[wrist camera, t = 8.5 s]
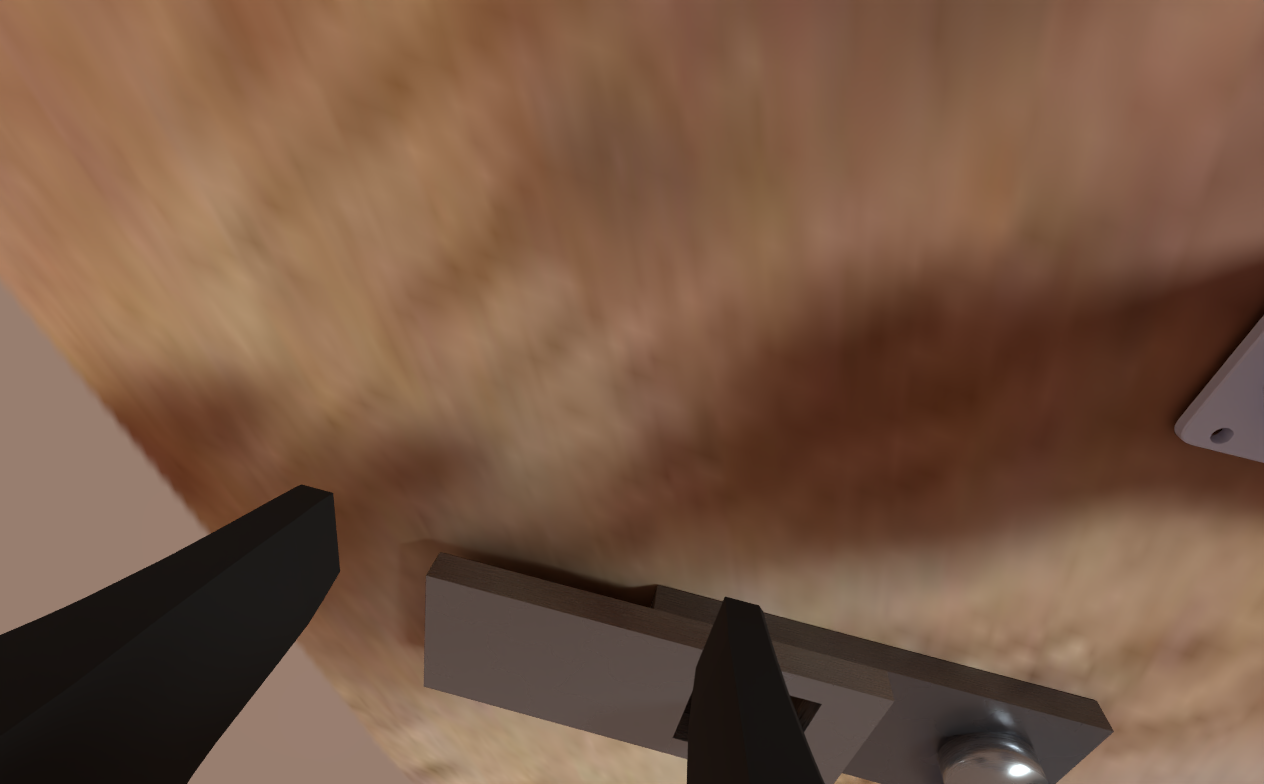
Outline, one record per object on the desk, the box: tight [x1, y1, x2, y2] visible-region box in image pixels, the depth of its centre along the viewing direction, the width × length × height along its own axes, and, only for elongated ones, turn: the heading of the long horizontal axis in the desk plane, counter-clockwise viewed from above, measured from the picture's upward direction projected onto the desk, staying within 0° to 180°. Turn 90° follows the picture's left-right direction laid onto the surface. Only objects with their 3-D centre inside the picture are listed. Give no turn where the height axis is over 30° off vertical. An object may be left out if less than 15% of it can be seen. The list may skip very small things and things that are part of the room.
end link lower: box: [651, 585, 1114, 784], centre depth 24 cm, size 18×7×2 cm, turn 79°
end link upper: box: [424, 552, 894, 784], centre depth 24 cm, size 18×7×2 cm, turn 79°
